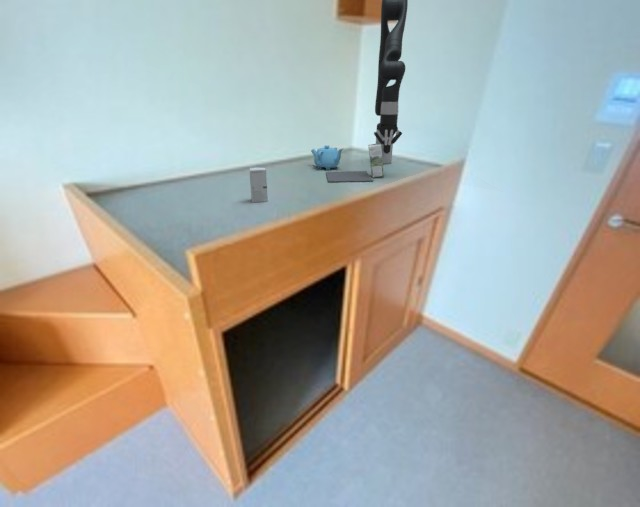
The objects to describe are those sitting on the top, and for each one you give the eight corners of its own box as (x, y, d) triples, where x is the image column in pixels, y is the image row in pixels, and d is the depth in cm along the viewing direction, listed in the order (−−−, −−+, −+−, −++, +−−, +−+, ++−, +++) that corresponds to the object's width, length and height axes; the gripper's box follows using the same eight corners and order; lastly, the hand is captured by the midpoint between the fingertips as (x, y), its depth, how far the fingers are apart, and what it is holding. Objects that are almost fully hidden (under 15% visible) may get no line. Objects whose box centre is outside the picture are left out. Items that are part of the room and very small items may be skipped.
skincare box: (252, 202, 132) (249, 170, 126) (251, 199, 135) (248, 167, 130) (268, 201, 133) (266, 169, 127) (267, 197, 137) (265, 166, 131)
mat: (325, 172, 173) (325, 171, 172) (366, 172, 173) (366, 171, 173) (328, 182, 156) (328, 181, 156) (372, 181, 157) (372, 180, 157)
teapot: (339, 164, 189) (339, 142, 184) (343, 170, 177) (343, 147, 172) (311, 165, 188) (310, 143, 183) (313, 171, 176) (312, 148, 171)
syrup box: (383, 173, 167) (380, 142, 161) (384, 176, 162) (381, 144, 156) (371, 175, 168) (367, 144, 162) (371, 178, 163) (368, 146, 157)
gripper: (401, 111, 157) (398, 151, 165) (372, 112, 156) (370, 152, 164) (406, 113, 150) (402, 154, 158) (376, 114, 150) (373, 155, 157)
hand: (386, 153), depth 161 cm, fingers closed
